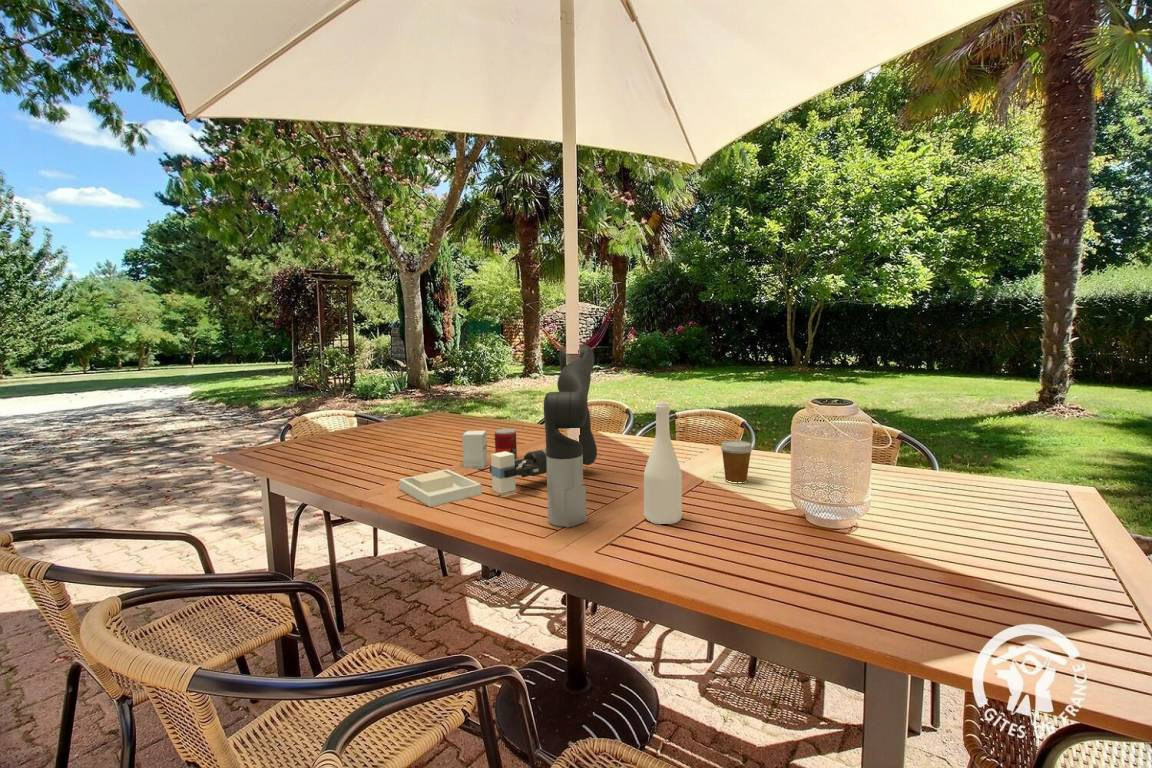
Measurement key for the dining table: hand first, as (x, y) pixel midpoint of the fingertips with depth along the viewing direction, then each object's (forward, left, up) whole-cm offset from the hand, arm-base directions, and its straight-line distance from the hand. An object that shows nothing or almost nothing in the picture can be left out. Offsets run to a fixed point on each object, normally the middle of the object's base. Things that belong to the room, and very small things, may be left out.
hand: (497, 471), depth 157 cm
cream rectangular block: (+17, +13, -6) cm, 22 cm away
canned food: (+34, -24, -7) cm, 42 cm away
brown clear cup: (-40, -62, -7) cm, 74 cm away
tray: (+12, +13, -7) cm, 19 cm away
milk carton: (0, -2, -7) cm, 7 cm away
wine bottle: (-46, -21, -7) cm, 51 cm away
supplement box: (+32, -10, -7) cm, 34 cm away
